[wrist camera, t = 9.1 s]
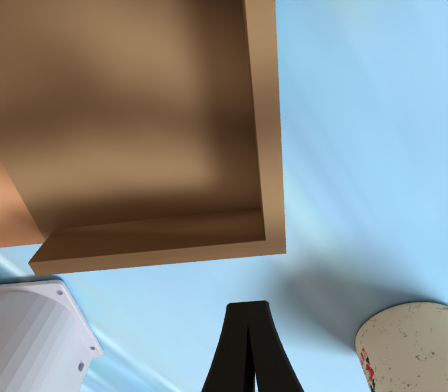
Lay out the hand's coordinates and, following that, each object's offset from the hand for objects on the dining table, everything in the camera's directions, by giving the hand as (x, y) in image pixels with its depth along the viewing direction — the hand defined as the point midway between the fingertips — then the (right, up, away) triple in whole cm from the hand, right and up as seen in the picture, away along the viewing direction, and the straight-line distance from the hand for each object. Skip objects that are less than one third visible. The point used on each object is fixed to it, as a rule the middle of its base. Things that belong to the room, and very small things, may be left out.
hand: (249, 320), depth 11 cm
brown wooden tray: (-10, +8, +6) cm, 14 cm away
